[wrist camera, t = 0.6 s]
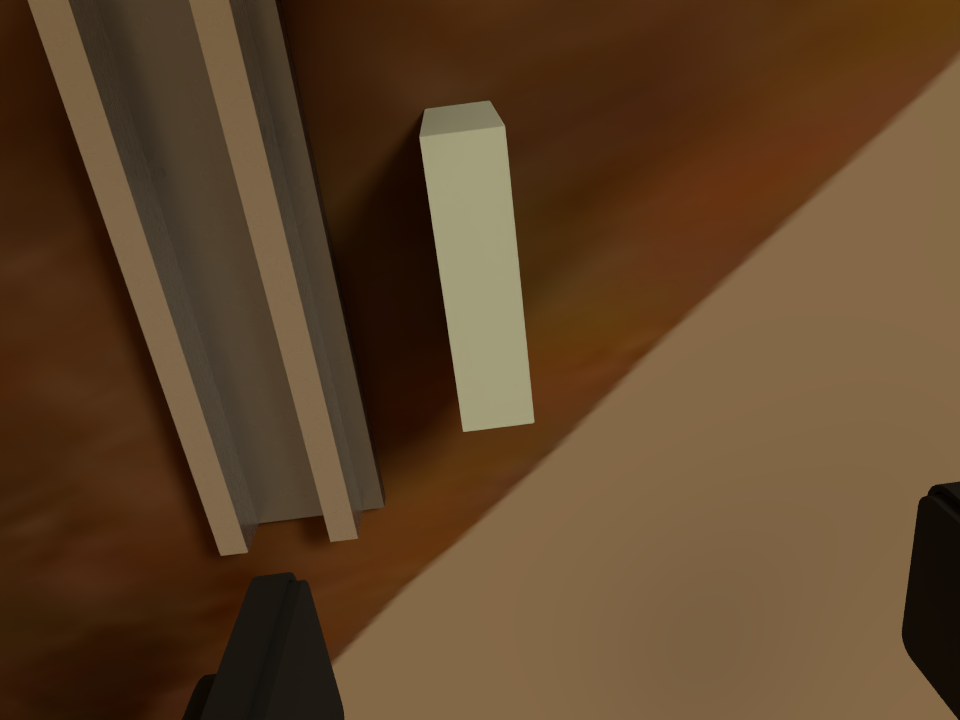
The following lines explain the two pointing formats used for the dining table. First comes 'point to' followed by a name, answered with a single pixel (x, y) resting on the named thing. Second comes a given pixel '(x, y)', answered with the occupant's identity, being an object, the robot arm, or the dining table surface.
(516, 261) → the door panel
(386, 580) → the dining table surface
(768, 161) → the dining table surface
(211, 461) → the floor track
